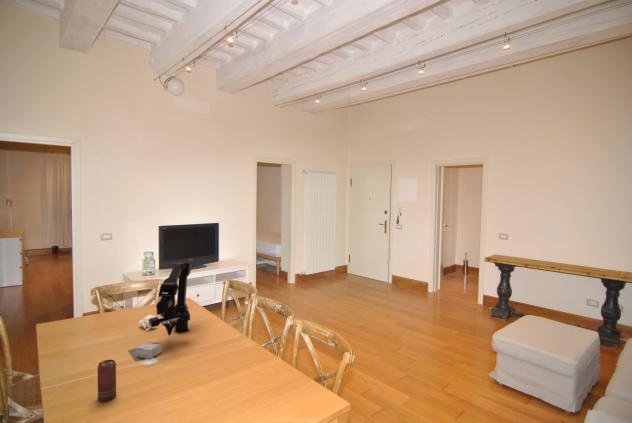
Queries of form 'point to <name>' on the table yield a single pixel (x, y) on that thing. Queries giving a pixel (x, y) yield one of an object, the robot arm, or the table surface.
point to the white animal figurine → (146, 322)
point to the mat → (133, 353)
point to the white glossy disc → (149, 362)
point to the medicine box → (148, 350)
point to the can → (106, 380)
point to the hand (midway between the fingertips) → (169, 334)
